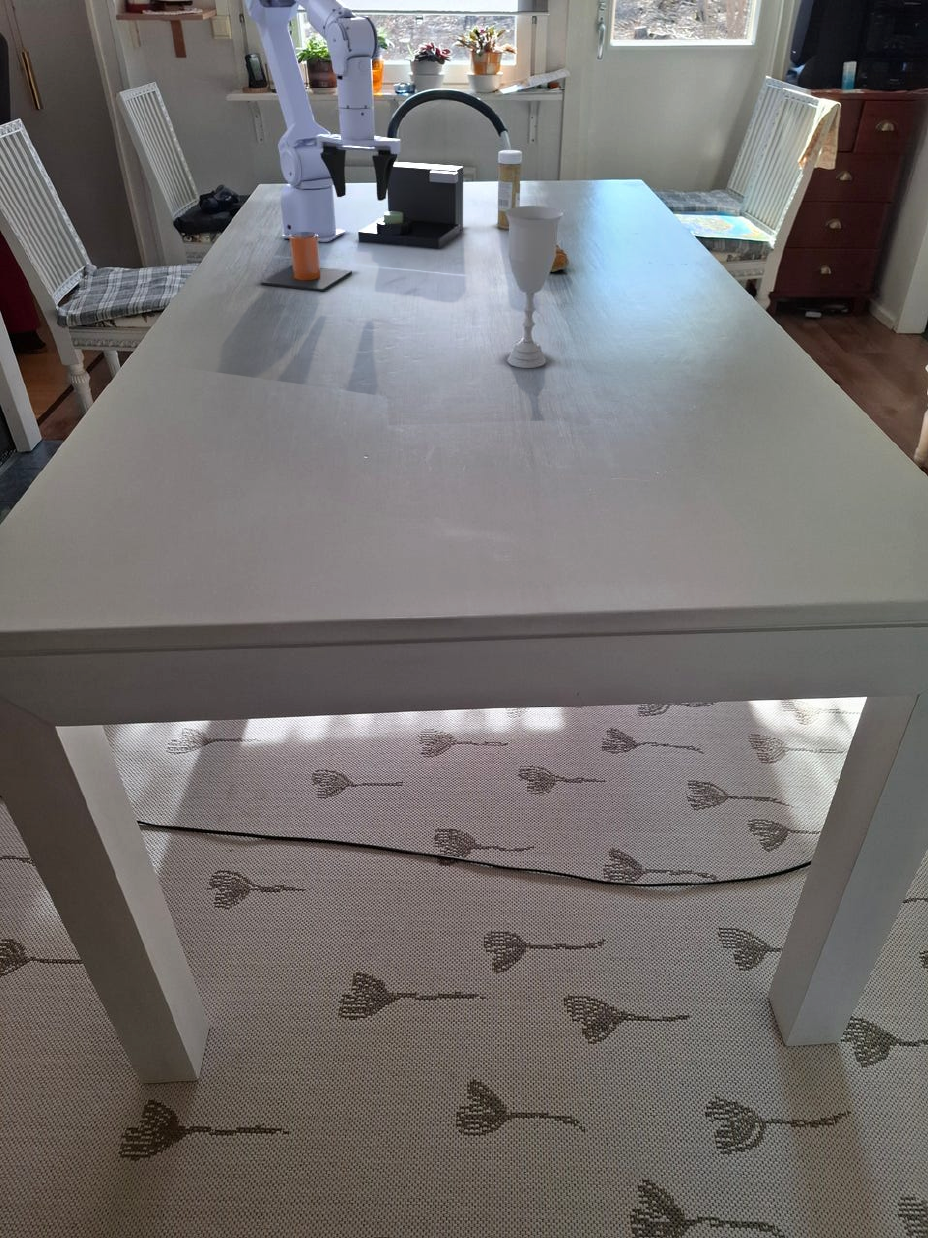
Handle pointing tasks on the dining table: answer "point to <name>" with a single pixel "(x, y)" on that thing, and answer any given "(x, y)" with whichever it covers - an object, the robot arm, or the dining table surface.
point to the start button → (393, 217)
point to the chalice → (531, 269)
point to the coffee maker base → (410, 233)
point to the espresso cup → (305, 255)
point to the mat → (320, 284)
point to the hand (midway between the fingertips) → (361, 197)
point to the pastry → (560, 260)
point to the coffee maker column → (427, 192)
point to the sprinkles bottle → (508, 184)
